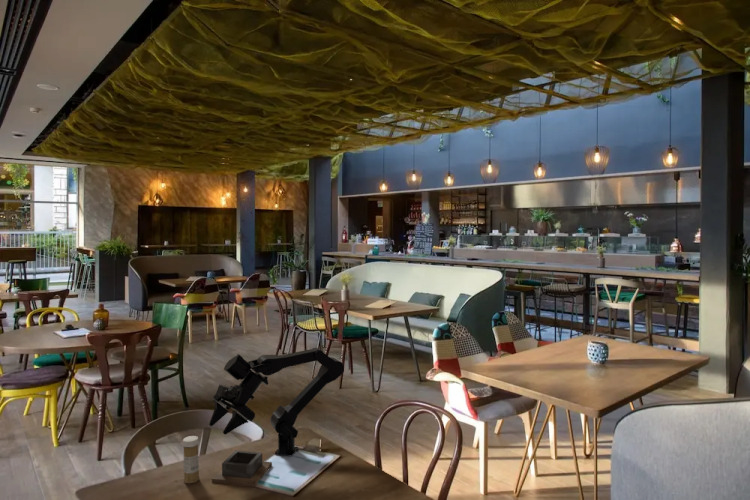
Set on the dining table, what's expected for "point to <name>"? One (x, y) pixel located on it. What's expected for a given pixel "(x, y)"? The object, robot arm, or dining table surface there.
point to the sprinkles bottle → (191, 459)
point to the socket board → (242, 469)
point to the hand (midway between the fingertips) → (216, 429)
